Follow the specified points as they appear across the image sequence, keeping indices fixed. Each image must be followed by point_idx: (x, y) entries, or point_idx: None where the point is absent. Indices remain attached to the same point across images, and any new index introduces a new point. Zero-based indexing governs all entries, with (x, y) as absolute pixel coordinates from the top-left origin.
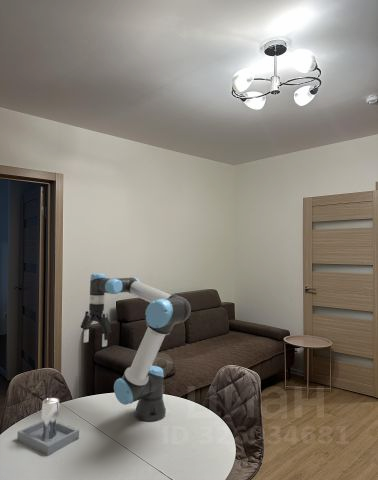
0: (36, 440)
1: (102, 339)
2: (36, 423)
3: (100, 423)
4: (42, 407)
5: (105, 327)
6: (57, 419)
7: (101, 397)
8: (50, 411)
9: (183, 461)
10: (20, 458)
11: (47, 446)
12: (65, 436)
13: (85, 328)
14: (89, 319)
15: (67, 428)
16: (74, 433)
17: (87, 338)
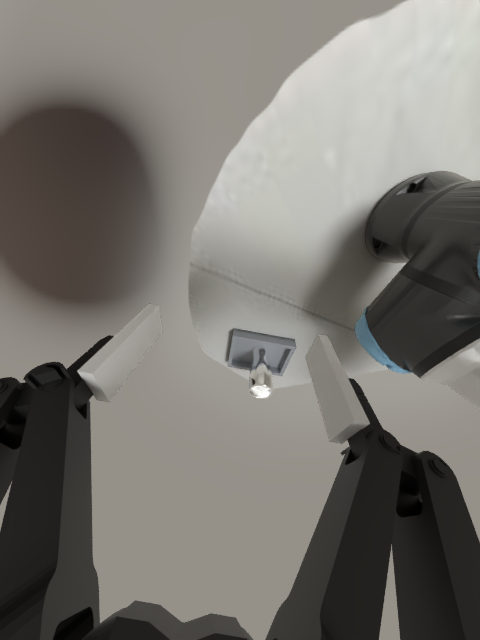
0: None
1: (317, 395)
2: (230, 349)
3: (304, 298)
4: (254, 391)
5: (395, 539)
6: (270, 367)
7: (240, 185)
8: (268, 388)
9: None
10: None
11: (280, 375)
12: (287, 360)
13: (80, 403)
14: (75, 628)
15: (276, 345)
16: (293, 351)
17: (148, 326)
